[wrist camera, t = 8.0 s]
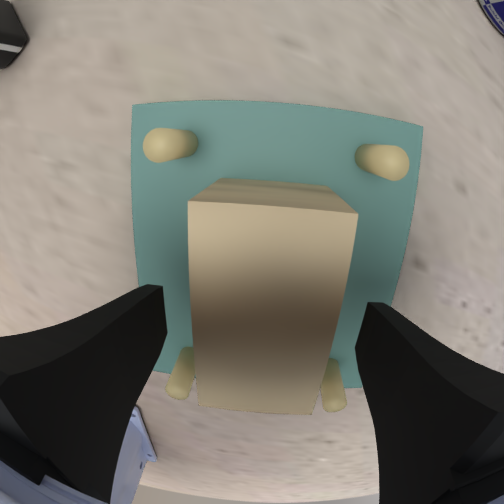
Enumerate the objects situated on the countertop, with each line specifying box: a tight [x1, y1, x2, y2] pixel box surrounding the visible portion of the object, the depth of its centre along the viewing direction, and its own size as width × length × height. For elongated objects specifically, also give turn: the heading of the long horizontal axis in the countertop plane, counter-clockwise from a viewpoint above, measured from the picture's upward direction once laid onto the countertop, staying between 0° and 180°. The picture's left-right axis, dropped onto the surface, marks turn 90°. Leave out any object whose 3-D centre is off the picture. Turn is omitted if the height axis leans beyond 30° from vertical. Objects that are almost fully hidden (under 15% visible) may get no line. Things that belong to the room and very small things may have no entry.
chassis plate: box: [131, 100, 423, 412], centre depth 13 cm, size 15×13×4 cm
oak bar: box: [188, 178, 358, 415], centre depth 11 cm, size 8×4×5 cm, turn 177°
